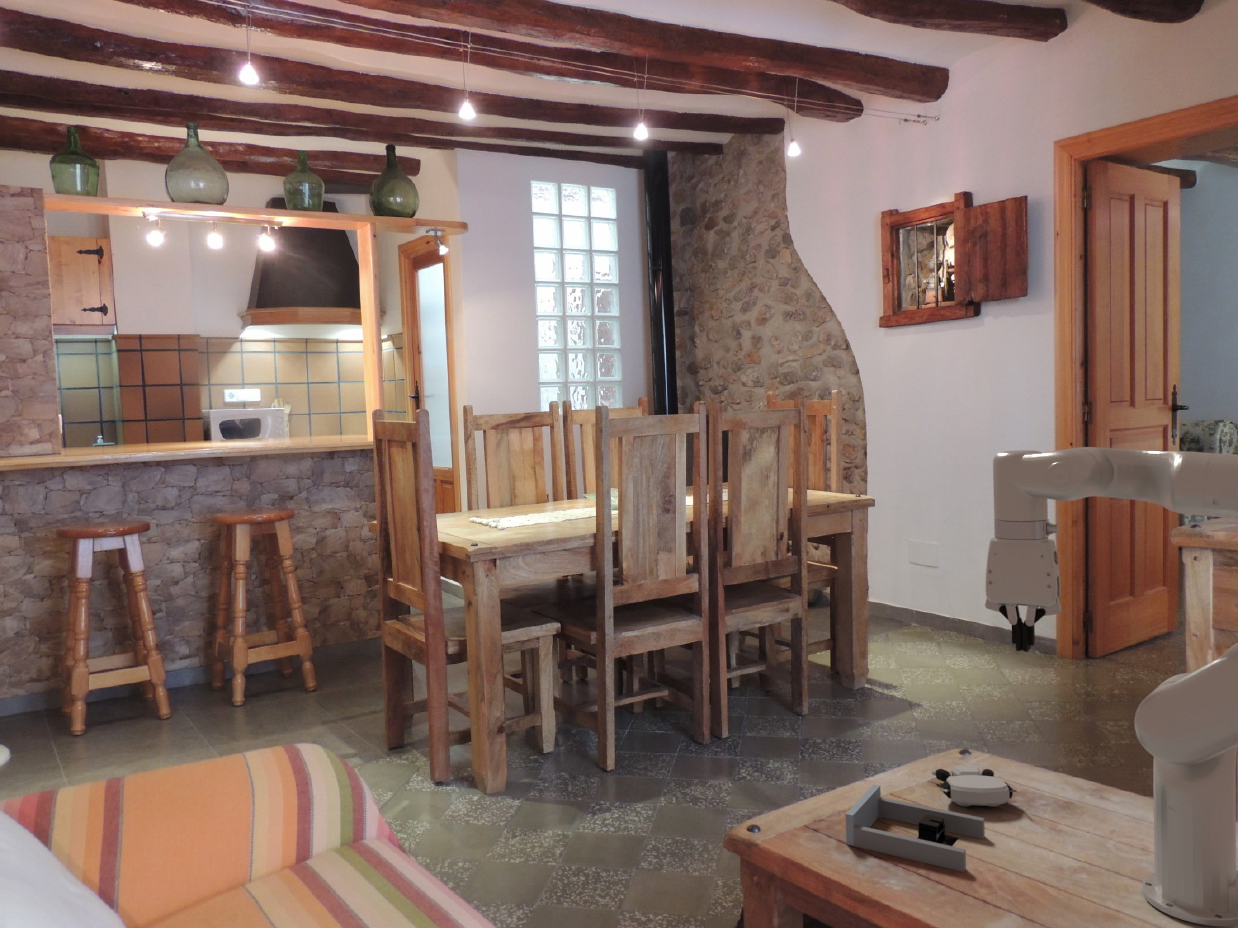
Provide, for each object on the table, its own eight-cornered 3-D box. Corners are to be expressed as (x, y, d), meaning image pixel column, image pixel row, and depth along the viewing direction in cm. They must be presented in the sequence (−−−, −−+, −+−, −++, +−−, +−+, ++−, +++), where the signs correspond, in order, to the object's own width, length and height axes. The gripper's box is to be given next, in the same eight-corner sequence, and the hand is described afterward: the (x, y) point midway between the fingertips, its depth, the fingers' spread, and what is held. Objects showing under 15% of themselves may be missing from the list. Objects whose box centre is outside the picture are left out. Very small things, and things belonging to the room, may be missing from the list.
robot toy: (928, 785, 169) (947, 813, 154) (927, 761, 169) (946, 787, 154) (996, 786, 168) (1022, 814, 153) (995, 761, 168) (1020, 787, 153)
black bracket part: (941, 871, 137) (941, 841, 136) (894, 858, 141) (893, 829, 141) (966, 838, 146) (965, 810, 146) (921, 827, 151) (920, 800, 151)
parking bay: (984, 836, 146) (983, 805, 146) (964, 872, 135) (963, 839, 134) (874, 812, 156) (873, 784, 156) (846, 844, 145) (845, 813, 145)
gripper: (1078, 529, 136) (1081, 649, 137) (975, 526, 145) (978, 639, 146) (1071, 535, 130) (1073, 660, 131) (964, 532, 139) (966, 649, 139)
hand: (1023, 649), depth 138 cm, fingers closed
